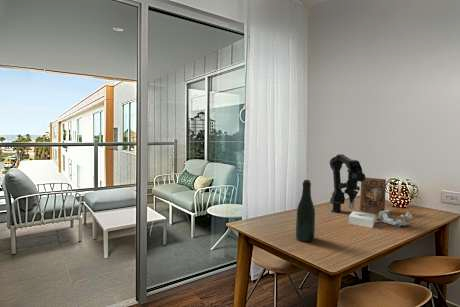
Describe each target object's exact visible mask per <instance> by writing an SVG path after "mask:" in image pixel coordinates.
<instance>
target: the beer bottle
mask: <svg viewBox="0 0 460 307" xmlns="http://www.w3.org/2000/svg"><path fill="white" fill-rule="evenodd" d="M311 186H312V182H311V180H310V179H303V182H302V190H301V193H302V194H301V197H300V200H299V202H298V205H297V207H296V216H295V231H294V232H295V235H294V237H295V239H296V240H298V241H300V242H303V243H311V242H313V241H315V238H316V210H315V209H316V208H315V205H314V202H313V200H312V194H311Z"/></svg>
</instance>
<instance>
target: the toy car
mask: <svg viewBox="0 0 460 307" xmlns="http://www.w3.org/2000/svg"><path fill="white" fill-rule="evenodd" d="M400 217H401V220H399V219H398V218H397V216H394V217H392V214H391V212H390V210H389V209H387V210H386V209H385V210H384V211H381V212H379V214H378V217H377V218H375V221H376V222H377V223H381V222H382V223H385V224H389V225H392V226H394V227H395V228H397V229H400V228H401V227H402V226H404V227H405V226H410V225H411V222H410V221H409V220H407V218H412V217H413V216H412V212H409V211H406V212H405V215H404V214H400ZM404 218H405V221H404Z"/></svg>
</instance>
